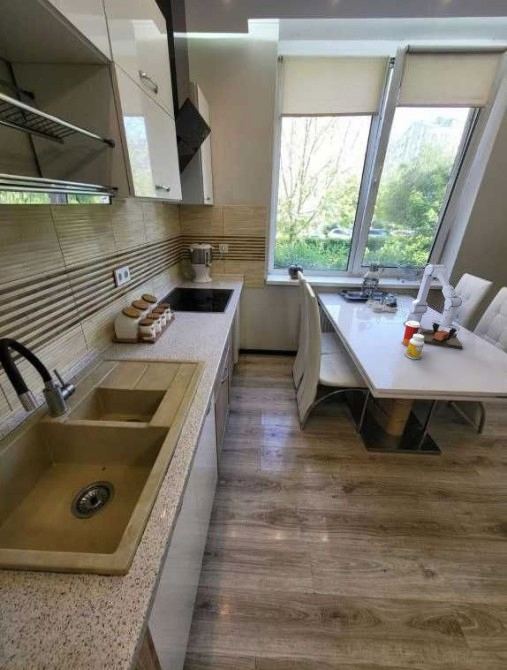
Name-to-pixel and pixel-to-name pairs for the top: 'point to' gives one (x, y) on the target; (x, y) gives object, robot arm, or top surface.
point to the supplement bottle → (415, 346)
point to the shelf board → (447, 343)
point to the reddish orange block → (441, 336)
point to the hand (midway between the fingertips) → (441, 337)
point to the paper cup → (410, 331)
